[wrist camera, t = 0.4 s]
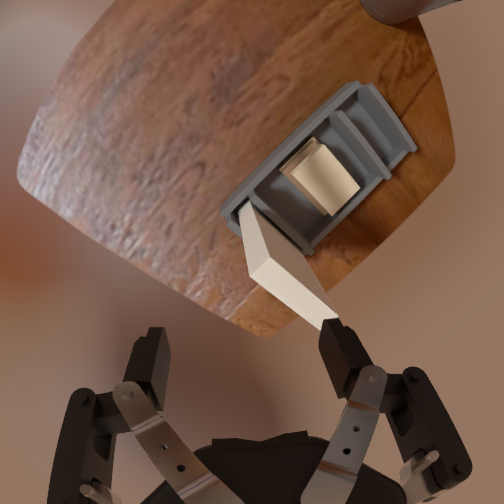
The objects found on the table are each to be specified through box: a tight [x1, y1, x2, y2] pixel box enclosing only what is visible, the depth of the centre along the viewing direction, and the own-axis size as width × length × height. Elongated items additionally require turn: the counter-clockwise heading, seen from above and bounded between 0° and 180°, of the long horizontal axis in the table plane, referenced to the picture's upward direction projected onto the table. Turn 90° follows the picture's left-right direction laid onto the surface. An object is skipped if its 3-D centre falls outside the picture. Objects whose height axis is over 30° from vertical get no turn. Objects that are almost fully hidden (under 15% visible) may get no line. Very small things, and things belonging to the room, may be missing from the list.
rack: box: [220, 80, 418, 257], centre depth 38 cm, size 28×14×7 cm, turn 136°
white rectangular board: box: [238, 197, 338, 331], centre depth 33 cm, size 2×10×20 cm, turn 46°
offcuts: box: [277, 136, 360, 216], centre depth 38 cm, size 7×10×4 cm
